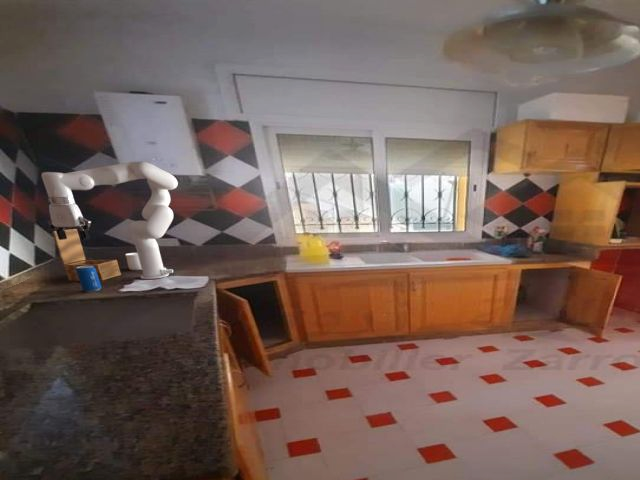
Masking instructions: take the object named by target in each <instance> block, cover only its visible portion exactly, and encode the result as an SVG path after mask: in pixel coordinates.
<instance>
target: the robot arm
mask: <svg viewBox="0 0 640 480" xmlns="http://www.w3.org/2000/svg"><path fill="white" fill-rule="evenodd" d="M41 179H42V181H43V184H44V187H45V191H46V194H47V197H48V199H47V201H48V202H50V204H49V205H48V207H49V208H48V210H49V216H50V219H48V220H47V221H46V223H47V224H48V225H49V226H50V228H52V229H53V231H56V232H57V235H58V238H59V240H63V239H67V236H66V233H65V231H64V230H65V228H76V229H78V230H80V231H79V233H80V237H81V239H82V240H83V241H85V240H90V239H91V238H90V234H89V230H90V228H91V224H92V221H91V220H88V219H87V218H84V216H83V214H82V211H81V209H80V208H79V205H78V204H76V201H75V198H74V195H73V192H72V191H89V190H92V189H93V188H94V187H95V186H105V185H107V186H109V185H119V184H123V183H127V182H131V181H136V180H137V181H138V180H141V179H142V180H143V179H144V180H145V179H146V182H147V185H148V186H149V189H150V191H151V196H150V198H149V199H148V201H147V202H146V204H145V206H144V207H143V209H142V211H141V216H142V218H143V219H144V220H134V221H132V222H130V224H129V226H128V231H129V234H130V236H131V238H132V241H133V243H134V246H135V249H136V253H138V257H139V260H140V264H141V267H142V270H141V271H142V275H140V279H141V280H155V279H162V278H166V277H168V276H169V275H170V274H173V273H174V269H172V268H170V269H169V268H167V267H166V266H164V263H163V260H162V255H161V252H160V247H159V244H158V242H157V240H159V239H161V238H163V236H164V235H165V234H166V232H167V231H168V229H169V227H170V226H171V224H172V222H173V220H174V212H173V209H171V208H170V207H169V205H170V203H171V194H170V192H169V191H173V190H175V189H177V187H178V184H179V182H178V180H177V178H176V177H175V176H174V175H173V174H171V173H169V172H168V171H165V170H164V169H162V168H160V167H158V166H157V165H154V164H152V163H150V162H148V161H129V162H123V163H117V164H111V165H105V166H100V167H99V166H98V167H93V168H88V169H83V170H76V171H70V172H57V171H56V172H54V171H44V172H42V173H41Z"/></svg>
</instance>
